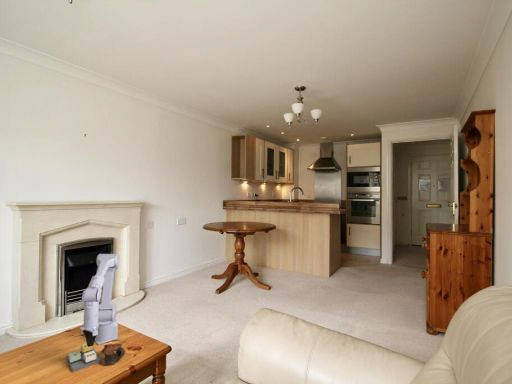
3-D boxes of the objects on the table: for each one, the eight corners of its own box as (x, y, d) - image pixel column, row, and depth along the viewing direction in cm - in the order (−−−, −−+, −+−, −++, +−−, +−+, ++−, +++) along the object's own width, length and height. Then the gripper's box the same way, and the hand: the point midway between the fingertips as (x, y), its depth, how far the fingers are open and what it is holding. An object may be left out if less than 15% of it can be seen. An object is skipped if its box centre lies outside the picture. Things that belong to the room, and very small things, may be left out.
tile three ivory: (93, 355, 127) (93, 349, 127) (96, 359, 124) (96, 353, 124) (83, 358, 124) (83, 353, 124) (85, 362, 122) (86, 357, 122)
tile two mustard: (90, 346, 133) (90, 341, 133) (92, 349, 130) (92, 344, 130) (80, 349, 130) (80, 343, 131) (82, 352, 128) (82, 347, 128)
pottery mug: (94, 366, 123) (97, 345, 127) (109, 365, 131) (112, 345, 135) (117, 363, 120) (119, 342, 124) (131, 362, 128) (133, 342, 132)
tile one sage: (78, 355, 127) (78, 349, 127) (80, 359, 124) (80, 353, 124) (68, 358, 124) (68, 353, 124) (70, 362, 121) (70, 357, 121)
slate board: (93, 350, 135) (93, 347, 135) (101, 361, 125) (101, 358, 125) (65, 359, 127) (65, 356, 127) (71, 372, 117) (71, 369, 117)
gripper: (77, 312, 127) (76, 342, 127) (85, 323, 117) (84, 356, 117) (94, 308, 132) (93, 337, 132) (103, 318, 122) (102, 349, 122)
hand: (90, 345), depth 125 cm, fingers closed
